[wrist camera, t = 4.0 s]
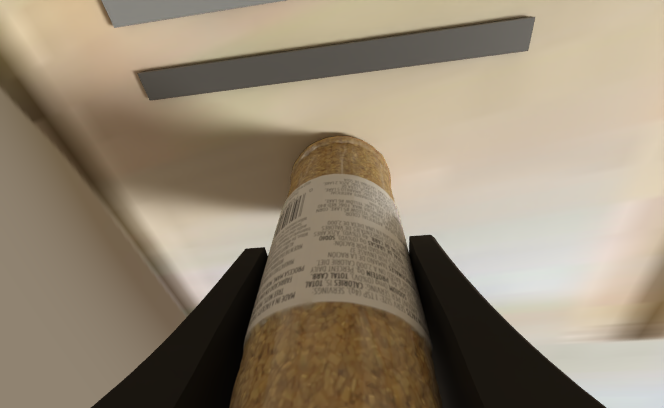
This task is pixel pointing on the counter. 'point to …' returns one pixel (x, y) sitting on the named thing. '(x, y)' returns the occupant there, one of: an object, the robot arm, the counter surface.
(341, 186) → the sprinkles bottle
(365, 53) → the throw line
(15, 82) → the counter surface
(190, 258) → the counter surface
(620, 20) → the counter surface
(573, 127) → the counter surface
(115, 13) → the mat
